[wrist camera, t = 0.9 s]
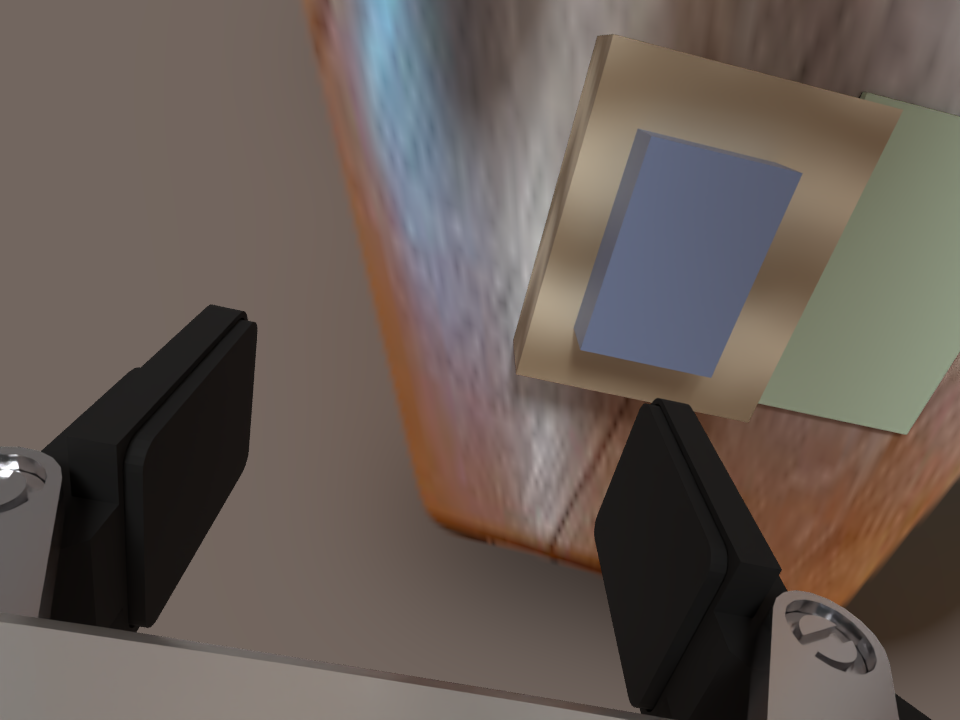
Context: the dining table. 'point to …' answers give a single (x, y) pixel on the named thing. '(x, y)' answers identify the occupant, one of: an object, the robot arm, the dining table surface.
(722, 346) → the blue rectangular block
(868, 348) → the mat
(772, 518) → the dining table surface
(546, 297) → the plate
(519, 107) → the dining table surface
